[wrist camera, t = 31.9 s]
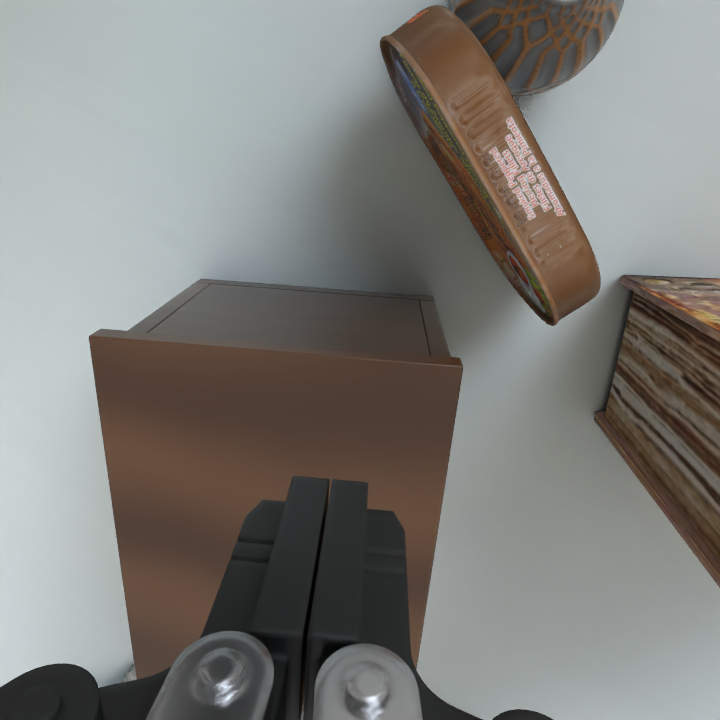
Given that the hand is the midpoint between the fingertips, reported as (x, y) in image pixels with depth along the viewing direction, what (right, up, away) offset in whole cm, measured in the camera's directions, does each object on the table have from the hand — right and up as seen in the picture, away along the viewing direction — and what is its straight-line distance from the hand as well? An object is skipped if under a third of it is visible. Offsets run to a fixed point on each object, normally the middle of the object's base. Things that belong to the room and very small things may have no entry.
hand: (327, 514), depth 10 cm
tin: (+7, +13, +18) cm, 23 cm away
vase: (+8, +20, +15) cm, 26 cm away
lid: (-3, -5, +13) cm, 14 cm away
